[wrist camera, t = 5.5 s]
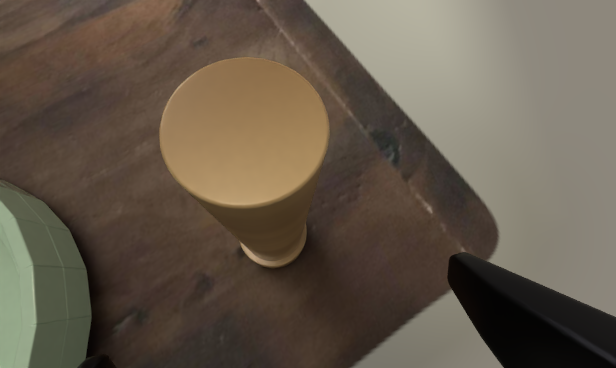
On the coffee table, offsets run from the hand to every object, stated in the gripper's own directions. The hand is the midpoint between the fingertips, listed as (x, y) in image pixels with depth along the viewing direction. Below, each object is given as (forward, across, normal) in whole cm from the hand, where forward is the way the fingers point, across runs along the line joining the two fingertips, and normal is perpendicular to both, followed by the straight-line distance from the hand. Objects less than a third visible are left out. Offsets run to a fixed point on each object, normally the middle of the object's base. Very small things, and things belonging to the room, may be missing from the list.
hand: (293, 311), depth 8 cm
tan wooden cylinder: (+10, 0, +5) cm, 11 cm away
